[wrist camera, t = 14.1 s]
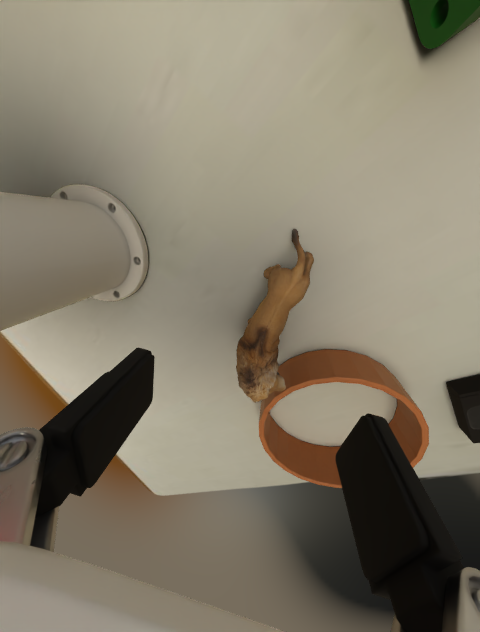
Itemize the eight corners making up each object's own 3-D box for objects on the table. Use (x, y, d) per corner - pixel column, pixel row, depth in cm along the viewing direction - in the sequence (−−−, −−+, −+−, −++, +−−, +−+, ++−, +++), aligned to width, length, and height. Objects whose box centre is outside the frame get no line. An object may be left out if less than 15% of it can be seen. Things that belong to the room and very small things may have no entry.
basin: (250, 427, 32) (245, 460, 27) (283, 332, 24) (283, 356, 20) (363, 463, 30) (377, 504, 26) (433, 374, 23) (470, 410, 19)
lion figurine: (282, 358, 26) (282, 418, 18) (240, 347, 26) (222, 402, 18) (320, 233, 20) (348, 239, 12) (265, 223, 20) (255, 222, 12)
